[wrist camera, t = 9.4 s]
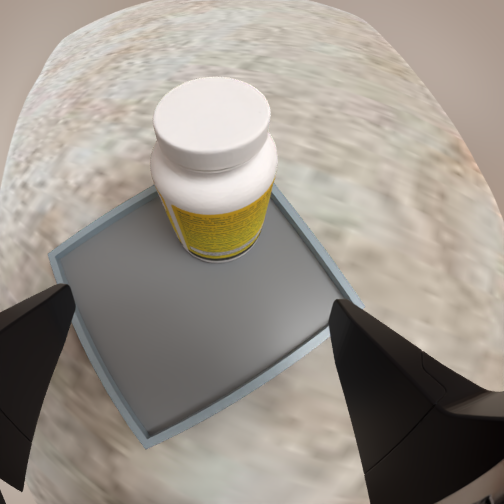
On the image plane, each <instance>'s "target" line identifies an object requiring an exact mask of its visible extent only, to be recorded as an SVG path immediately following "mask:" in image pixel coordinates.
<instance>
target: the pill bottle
mask: <svg viewBox="0 0 504 504" xmlns="http://www.w3.org/2000/svg"><path fill="white" fill-rule="evenodd" d="M270 115H271V113H270V106H269V104H268V101H267V99H266V98H265V97H264V95H263V94H262V93H261V92H260V91H259V90H257V89H256V88H255V87H253V86H251V85H250V84H248V83H245V82H243V81H240V80H237V79H233V78H227V77H204V78H198V79H194V80H191V81H188V82H185V83H183V84H180V85H178V86H177V87H175V88H173V89H172V90H170V91H169V92H168V93H167V94H166V95H165V96H164V97H163V98H162V99H161V100H160V101H159V103H158V104H157V106H156V108H155V111H154V115H153V126H154V130H155V134H156V138H157V141H156V143H155V145H154V147H153V150H152V154H151V161H150V167H151V174H152V178H153V182H154V185H155V187H156V189H157V192H158V194H159V197H160V199H161V202H162V204H163V206H164V209H165V211H166V213H167V215H168V218H169V220H170V222H171V224H172V227H173V229H174V231H175V233H176V235H177V237H178V239H179V241H180V243H181V244H182V246H183V247H184V248H185V249H186V250H187V251H188V252H189V253H190V254H191V255H193V256H194V257H196V258H198V259H200V260H203V261H206V262H211V263H224V262H229V261H232V260H235V259H237V258H239V257H241V256H243V255H244V254H246V253H247V252H248V251H249V250H250V249H251V248H252V247H253V246H254V245H255V243H256V242H257V240H258V238H259V235H260V233H261V230H262V227H263V223H264V219H265V215H266V211H267V207H268V203H269V199H270V195H271V191H272V187H273V183H274V180H275V176H276V171H277V164H278V155H277V149H276V145H275V142H274V140H273V138H272V136H271V135H270V133H269V123H270Z"/></svg>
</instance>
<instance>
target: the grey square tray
mask: <svg viewBox="0 0 504 504" xmlns="http://www.w3.org/2000/svg"><path fill="white" fill-rule="evenodd" d="M48 257H49V260H50V264H51V267H52V270H53V273H54V276H55V279H56V282H57V284H59V283H63V284H68V285H69V286H70V287H71V290H72V293H73V297H74V300H75V304H76V309H75V313H74V316H73V319H72V324H73V326H74V328H75V331H76V333H77V335H78V337H79V340H80V342H81V344H82V346H83V348H84V350H85V352H86V354H87V356H88V358H89V360H90V362H91V364H92V366H93V368H94V370H95V372H96V373H97V375H98V377H99V379H100V381H101V382H102V384H103V386H104V388H105V389H106V391H107V393H108V395H109V396H110V398H111V400H112V401H113V403H114V404H115V406H116V408H117V409H118V411H119V412H120V414H121V415H122V417H123V418H124V420H125V421H126V423H127V424H128V426H129V427H130V429H131V430H132V431H133V433H134V434H135V436H136V437H137V438H138V440H139V441H140V443H141V444H142V445H143V447H144V448H145V449H148V448H150V447H152V446H154V445H157V444H159V443H161V442H163V441H165V440H167V439H169V438H171V437H173V436H175V435H177V434H179V433H181V432H183V431H185V430H187V429H189V428H191V427H193V426H194V425H196V424H198V423H200V422H202V421H204V420H205V419H207V418H209V417H211V416H213V415H214V414H216V413H218V412H220V411H221V410H223V409H225V408H226V407H228V406H230V405H231V404H233V403H235V402H236V401H238V400H240V399H241V398H243V397H245V396H246V395H248V394H249V393H251V392H252V391H254V390H256V389H257V388H259V387H260V386H262V385H263V384H265V383H266V382H268V381H269V380H271V379H272V378H274V377H275V376H277V375H278V374H280V373H281V372H282V371H284V370H285V369H287V368H288V367H290V366H291V365H292V364H294V363H295V362H297V361H298V360H299V359H301V358H302V357H303V356H305V355H306V354H307V353H309V352H310V351H312V350H313V349H314V348H315V347H317V346H318V345H319V344H321V343H322V342H323V341H325V340H326V339H327V338H328V337H330V331H329V325H328V321H329V316H330V313H331V309H332V305H333V302H334V300H336V299H348V300H349V301H351V302H352V303H354V304H355V305H357V306H358V307H360V308H361V309H363V308H365V305H364V304H363V302H362V301H361V299H360V298H359V297H358V295H357V294H356V292H355V291H354V289H353V288H352V286H351V285H350V284H349V282H348V281H347V279H346V278H345V276H344V275H343V274H342V272H341V271H340V269H339V268H338V267H337V265H336V264H335V262H334V261H333V260H332V258H331V257H330V255H329V254H328V253H327V251H326V250H325V249H324V247H323V246H322V245H321V243H320V242H319V240H318V239H317V238H316V236H315V235H314V234H313V232H312V231H311V230H310V228H309V227H308V226H307V225H306V223H305V222H304V221H303V219H302V218H301V217H300V215H299V214H298V213H297V211H296V210H295V209H294V208H293V206H292V205H291V204H290V203H289V201H288V200H287V199H286V197H285V196H284V195H283V194H282V192H281V191H280V190H279V189H278V187H277V186H276V185H275V184H274V183H273V187H272V191H271V195H270V199H269V203H268V207H267V211H266V215H265V219H264V223H263V227H262V230H261V233H260V235H259V238H258V240H257V242H256V243H255V245H254V246H253V247H252V248H251V249H250V250H249V251H248V252H247V253H246V254H244V255H243V256H241V257H239V258H237V259H235V260H232V261H229V262H224V263H211V262H206V261H203V260H200V259H198V258H196V257H194V256H193V255H191V254H190V253H189V252H188V251H187V250H186V249H185V248H184V247H183V246H182V244H181V243H180V241H179V239H178V237H177V235H176V233H175V231H174V229H173V227H172V224H171V222H170V220H169V218H168V215H167V213H166V211H165V209H164V206H163V204H162V202H161V199H160V197H159V194H158V192H157V189H156V187H155V185H153V186H151V187H149V188H148V189H146V190H144V191H142V192H141V193H139V194H137V195H136V196H134V197H132V198H130V199H129V200H127V201H125V202H124V203H122V204H121V205H119V206H117V207H116V208H114V209H112V210H111V211H109V212H108V213H106V214H105V215H103V216H101V217H100V218H98V219H97V220H95V221H94V222H92V223H91V224H89V225H88V226H86V227H85V228H83V229H82V230H80V231H79V232H77V233H76V234H75V235H73V236H72V237H70V238H69V239H67V240H66V241H65V242H63V243H62V244H60V245H59V246H58V247H56V248H55V249H54V250H52V251H51V252H50V253H48Z"/></svg>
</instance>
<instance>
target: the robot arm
mask: <svg viewBox="0 0 504 504" xmlns="http://www.w3.org/2000/svg"><path fill="white" fill-rule="evenodd" d="M75 309H76V304H75V300H74V297H73V293H72V290H71V287H70V286H69V285H68V284H63V283H59V284H57V285H54V286H52V287H50V288H48V289H46V290H44V291H42V292H40V293H38V294H36V295H34V296H32V297H30V298H28V299H26V300H24V301H22V302H20V303H18V304H16V305H14V306H12V307H10V308H8V309H6V310H4V311H2V312H0V479H2V480H3V481H5V482H6V483H8V484H9V485H11V486H13V487H14V488H16V489H17V490H19V491H21V492H22V491H23V488H24V481H25V475H26V469H27V464H28V459H29V454H30V449H31V445H32V443H31V442H32V440H33V436H34V432H35V428H36V425H37V421H38V417H39V414H40V411H41V407H42V404H43V401H44V398H45V395H46V392H47V389H48V386H49V383H50V380H51V377H52V375H53V372H54V369H55V367H56V364H57V361H58V359H59V356H60V354H61V351H62V349H63V346H64V343H65V340H66V337H67V334H68V331H69V328H70V325H71V322H72V319H73V316H74V313H75ZM328 325H329V331H330V336H331V342H332V348H333V354H334V360H335V364H336V368H337V372H338V375H339V379H340V382H341V386H342V389H343V393H344V396H345V400H346V404H347V407H348V411H349V415H350V419H351V422H352V426H353V430H354V434H355V438H356V442H357V446H358V450H359V454H360V458H361V463H362V467H363V471H364V474H365V475H364V476H365V481H366V485H367V490H368V495H369V499H370V504H504V391H503V392H494V391H489V390H486V389H484V388H482V387H480V386H478V385H476V384H475V383H473V382H471V381H470V380H468V379H466V378H465V377H463V376H461V375H459V374H458V373H456V372H454V371H453V370H451V369H449V368H448V367H446V366H444V365H443V364H441V363H440V362H438V361H437V360H435V359H434V358H432V357H431V356H429V355H428V354H427V353H425V352H424V351H422V350H421V349H419V348H418V347H417V346H415V345H414V344H412V343H411V342H409V341H408V340H406V339H405V338H404V337H402V336H401V335H399V334H398V333H396V332H395V331H393V330H392V329H390V328H389V327H388V326H386V325H385V324H383V323H382V322H380V321H379V320H377V319H376V318H374V317H373V316H371V315H370V314H369V313H367V312H366V311H364V310H363V309H361V308H360V307H358V306H357V305H355V304H354V303H352V302H351V301H349V300H348V299H336V300H334V302H333V305H332V309H331V313H330V316H329V321H328ZM0 504H6V503H5V500H4V498H3V495H2V493H1V491H0Z"/></svg>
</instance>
